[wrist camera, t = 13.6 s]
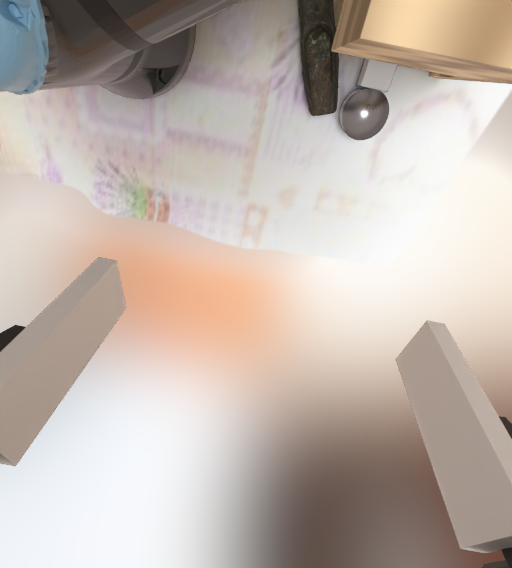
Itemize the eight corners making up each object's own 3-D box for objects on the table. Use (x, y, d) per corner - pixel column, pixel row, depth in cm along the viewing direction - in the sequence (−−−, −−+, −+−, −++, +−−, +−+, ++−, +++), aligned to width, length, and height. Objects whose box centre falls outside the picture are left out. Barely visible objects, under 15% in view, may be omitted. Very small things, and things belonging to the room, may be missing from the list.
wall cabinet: (323, 54, 30) (360, 37, 13) (346, -44, 26) (448, -260, 9) (441, 78, 31) (628, 92, 13) (485, -15, 26) (851, -172, 9)
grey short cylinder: (333, 130, 35) (336, 135, 33) (348, 82, 32) (352, 84, 30) (371, 139, 35) (376, 144, 33) (389, 92, 32) (397, 94, 30)
